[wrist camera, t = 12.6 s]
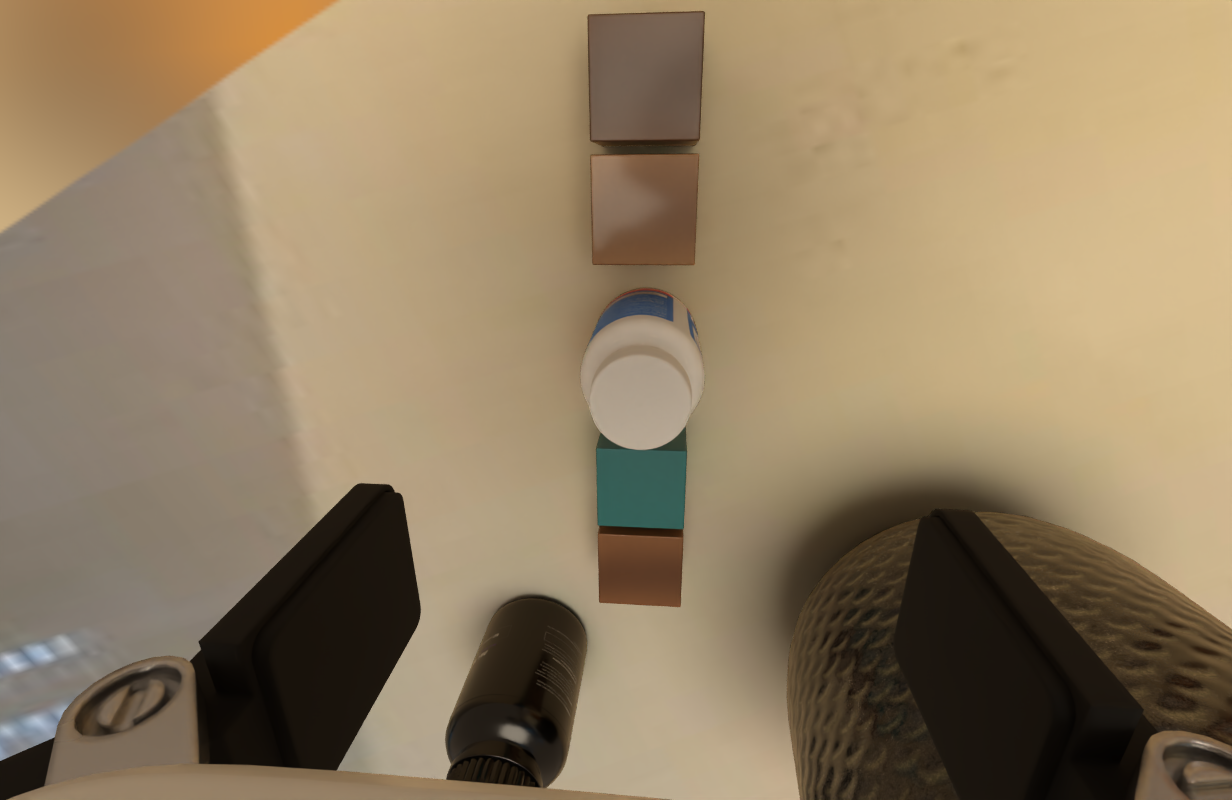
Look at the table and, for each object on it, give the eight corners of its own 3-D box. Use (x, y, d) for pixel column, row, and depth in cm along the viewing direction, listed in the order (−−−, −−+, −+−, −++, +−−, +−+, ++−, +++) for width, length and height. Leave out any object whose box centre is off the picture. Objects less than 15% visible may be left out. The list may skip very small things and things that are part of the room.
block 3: (605, 414, 33) (595, 448, 29) (684, 416, 33) (686, 451, 29) (606, 483, 35) (597, 525, 31) (682, 486, 35) (683, 529, 30)
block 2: (602, 157, 29) (590, 154, 24) (695, 156, 28) (699, 153, 24) (603, 252, 30) (592, 264, 26) (691, 252, 30) (694, 265, 26)
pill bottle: (577, 344, 32) (539, 410, 23) (637, 265, 30) (623, 303, 21) (655, 403, 33) (649, 490, 24) (718, 330, 31) (739, 393, 22)
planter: (1096, 411, 31) (1672, 730, 13) (1102, 691, 37) (1496, 1162, 19) (726, 488, 34) (785, 820, 17) (788, 731, 41) (879, 1161, 23)
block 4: (606, 491, 35) (597, 534, 31) (681, 494, 35) (683, 537, 31) (607, 554, 37) (599, 602, 33) (679, 557, 36) (680, 607, 32)
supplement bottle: (479, 595, 39) (401, 765, 28) (580, 591, 38) (542, 764, 27) (499, 675, 41) (435, 861, 30) (595, 672, 40) (566, 863, 29)
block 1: (600, 39, 27) (587, 14, 23) (699, 36, 26) (704, 10, 22) (601, 146, 28) (589, 141, 24) (695, 145, 28) (699, 140, 24)
